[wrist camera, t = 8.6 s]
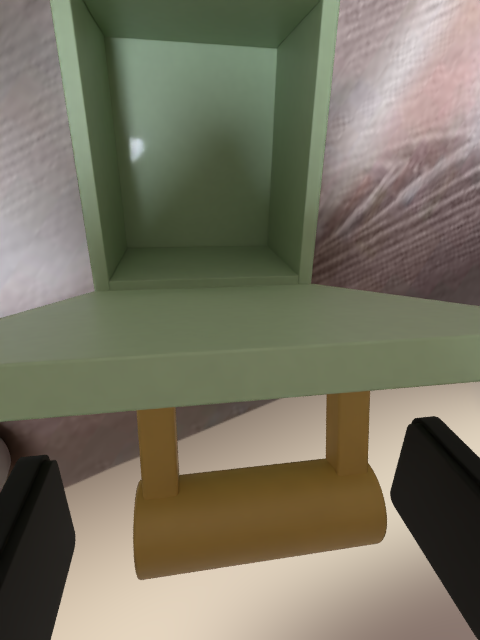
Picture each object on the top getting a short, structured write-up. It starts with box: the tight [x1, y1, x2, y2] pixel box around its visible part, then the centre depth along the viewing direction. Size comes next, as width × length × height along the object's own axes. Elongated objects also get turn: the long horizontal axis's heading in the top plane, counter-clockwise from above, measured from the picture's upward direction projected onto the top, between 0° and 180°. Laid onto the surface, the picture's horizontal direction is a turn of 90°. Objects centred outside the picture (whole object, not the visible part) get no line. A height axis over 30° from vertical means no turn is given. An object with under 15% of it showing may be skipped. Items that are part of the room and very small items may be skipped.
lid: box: [0, 284, 480, 580], centre depth 13 cm, size 15×12×5 cm
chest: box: [50, 0, 340, 291], centre depth 21 cm, size 14×12×9 cm
